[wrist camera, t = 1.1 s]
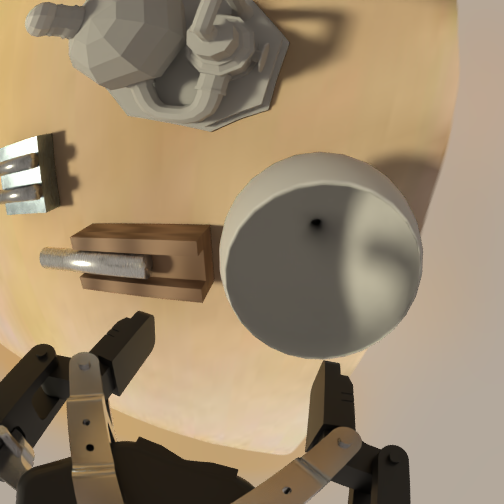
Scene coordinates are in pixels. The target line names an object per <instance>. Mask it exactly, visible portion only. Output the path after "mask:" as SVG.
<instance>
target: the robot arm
mask: <svg viewBox="0 0 504 504" xmlns="http://www.w3.org/2000/svg"><path fill="white" fill-rule="evenodd" d="M154 344H155V323H154V316H153V315H150V314H147V313H144V312H141V311H138V312H136V313H135V315H134V316H133V317H132V318H131V319H130V318H127V317H126V318H124V319H122V320H120V321H118V322H117V323H116V324H115V325H114V326H113V327H112V329H110V330H109V331H108V332H107V335H105V336H104V337H103V338H102V339H101V340H100V341H99V342H98V343H97V344H96V345H95V346H94V347H93V348H92V350H91V351H90V352H89V353H88V352H82V353H78V354H76V355H74V356H73V357H72V358H69V357H64V356H59V355H56V352H55V350H54V348H53V347H52V346H50V345H48V344H39V345H36V346H35V347H33V348H32V349H31V350H30V351H29V352H28V353H27V354H26V355H25V356H24V357H23V358H22V359H21V360H20V361H19V363H18V364H17V365H16V366H15V367H14V368H13V369H12V370H11V371H10V372H9V373H8V374H7V375H6V377H5V378H4V379H3V380H2V381H1V382H0V481H2V482H6V483H7V484H8V485H10V486H11V487H12V488H13V489H15V490H16V491H17V495H16V504H305V503H306V502H308V501H309V500H310V499H311V498H312V497H313V496H315V495H316V494H317V493H318V492H319V491H320V490H321V489H322V488H323V487H324V486H325V485H327V483H328V482H330V481H333V482H336V483H338V484H341V485H343V486H346V487H349V498H348V504H410V478H409V477H410V475H409V459H408V455H407V453H406V452H405V451H404V450H403V449H402V448H401V447H399V446H396V445H388V446H386V447H384V448H382V449H378V448H376V447H373V446H370V445H368V444H366V443H364V442H363V441H362V440H361V437H360V435H359V434H358V433H357V432H356V429H355V411H354V396H353V384H352V382H351V381H350V379H349V377H348V376H344V375H341V374H340V364H339V363H335V362H330V361H323V362H322V364H321V367H320V369H319V371H318V374H317V376H316V378H315V380H314V383H313V386H312V389H311V394H310V406H309V418H308V428H307V438H306V447H305V452H307V453H306V454H305V455H303V456H302V457H301V458H296V459H295V460H293V461H292V462H291V463H289V464H288V465H287V466H285V467H284V468H283V469H281V470H280V471H279V472H277V473H276V474H274V475H273V476H272V477H270V478H269V479H267V480H266V481H265V482H263V483H262V484H260V485H259V486H257V487H256V488H255V487H254V486H252V485H251V484H250V483H249V482H247V481H246V480H245V479H243V478H241V477H239V476H237V473H238V469H235V468H230V467H227V466H223V465H219V464H216V463H210V462H198V461H189V460H184V459H182V458H181V457H179V456H177V455H176V454H174V453H173V452H171V451H169V450H168V449H166V448H165V447H163V446H161V445H159V444H156V443H154V442H151V441H149V440H146V439H144V438H142V437H139V438H138V440H137V441H136V442H132V441H120V442H118V441H117V438H116V434H115V430H114V425H113V421H112V415H111V410H110V403H109V399H108V398H109V396H110V395H111V394H112V393H113V394H115V395H117V396H119V397H120V395H121V394H122V392H123V391H124V390H125V388H126V387H127V385H128V384H129V383H130V381H131V380H132V378H133V377H134V375H135V374H136V373H137V371H138V370H139V368H140V367H141V366H142V364H143V363H144V361H145V360H146V359H147V357H148V356H149V354H150V353H151V351H152V350H153V347H154ZM66 400H67V419H68V432H69V442H70V451H71V457H68V458H65V459H62V460H59V461H55V462H51V463H48V464H44V465H40V466H37V467H33V464H34V462H33V461H34V457H35V455H34V450H33V447H34V446H35V444H36V443H37V441H38V440H39V438H40V437H41V436H42V434H43V432H44V431H45V430H46V428H47V427H48V425H49V424H50V423H51V421H52V420H53V418H54V417H55V415H56V414H57V413H58V411H59V410H60V408H61V407H62V406H63V404H64V403H65V401H66ZM32 467H33V468H32Z"/></svg>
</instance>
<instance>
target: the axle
mask: <svg viewBox="0 0 504 504" xmlns="http://www.w3.org/2000/svg"><path fill="white" fill-rule="evenodd" d="M40 263H41V265H42V267H44V268H46V269H54V270H62V271H71V272H79V273H88V274H98V275H107V276H117V277H127V278H137V279H148V278H149V277H150V276H151V273H152V269H153V260H152V257H151V255H150V254H134V253H117V252H99V251H82V250H73V249H70V248H53V247H45V248H44V249H43V250H42V251H41V253H40Z"/></svg>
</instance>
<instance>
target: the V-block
mask: <svg viewBox="0 0 504 504" xmlns="http://www.w3.org/2000/svg"><path fill="white" fill-rule="evenodd" d="M0 176H1V181H2V188H3V190H0V204H5V205H6V211H7V215H12V214H28V213H46V212H48V211H50V210H53V209H55V208H57V207H59V206H61V205H60V199H59V193H58V186H57V179H56V171H55V162H54V152H53V140H52V134H46V135H40V136H35V137H32V138H29V139H26V140H23V141H20V142H17V143H14V144H11V145H8V146H6V147H3V148H0Z"/></svg>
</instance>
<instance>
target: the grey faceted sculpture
mask: <svg viewBox="0 0 504 504" xmlns="http://www.w3.org/2000/svg"><path fill="white" fill-rule="evenodd" d="M25 27H26V30H27V32H28V33H29V34H30V35H32V36H36V37H40V36H45V35H47V36H59V37H61V38H62V39H64V38H67V39H69V57H70V60H71V63H72V66H73V67H74V68H76V69H77V70H79V71H80V72H82V73H83V74H84V75H86V76H87V77H89V78H90V79H92V80H93V81H95V82H96V83H97V84H99V85H101V86H103V87H105V88H106V89H107V90H108V91H109V93H110V94H111V95H112V96H113V97H114V99H115V100H116V101H117V103H118V104H119V105H120V106H121V108H122V109H123V110H124V112H125V113H126V114H127V115H128V116H132V117H139V118H144V119H150V120H156V121H161V122H166V123H172V124H177V125H182V126H187V127H191V128H196V129H201V130H205V131H209V132H212V131H214V130H216V129H218V128H220V127H223V126H225V125H227V124H229V123H231V122H234V121H236V120H238V119H241V118H244V117H247V116H250V115H253V114H256V113H260V112H263V111H266V110H268V109H269V106H270V102H271V99H272V95H273V92H274V88H275V85H276V81H277V78H278V75H279V72H280V69H281V66H282V63H283V60H284V58H285V55H286V52H287V49H288V46H289V44H290V42H289V41H288V40H287V39H286V38H285V36H284V35H283V34H282V33H281V32H280V31H279V29H278V28H277V27H276V26H275V25H274V24H273V22H272V21H271V20H270V19H269V18H268V17H267V16H266V15H265V13H264V12H263V11H262V10H261V9H260V8H259V7H258V6H257V5H256V4H255V3H254V2H253V0H86V1H85V3H84V4H83V6H80V7H79V6H78V5H75V6H67V5H63V4H60V5H58V4H57V5H56V4H54V3H51V2H45V3H41V4H39V5H37V6H35V7H34V8H33V9H32V10H31V11H30V12H29V14H28V15H27V17H26V21H25Z"/></svg>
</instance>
